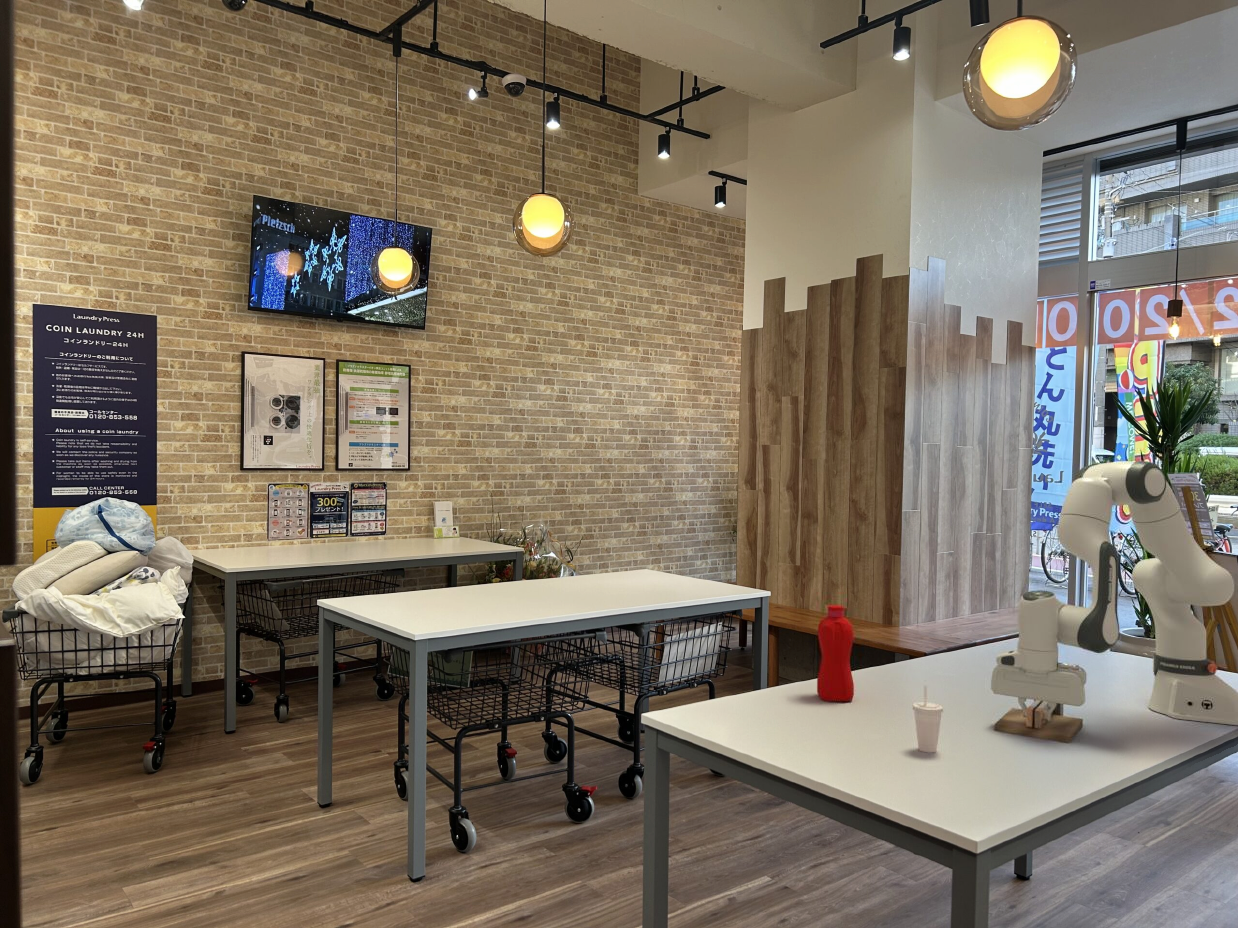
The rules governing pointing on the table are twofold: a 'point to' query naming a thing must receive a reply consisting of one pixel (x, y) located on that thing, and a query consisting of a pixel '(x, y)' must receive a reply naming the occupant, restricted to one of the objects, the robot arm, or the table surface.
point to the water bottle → (835, 656)
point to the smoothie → (927, 723)
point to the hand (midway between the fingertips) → (1036, 718)
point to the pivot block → (1058, 709)
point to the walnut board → (1051, 730)
